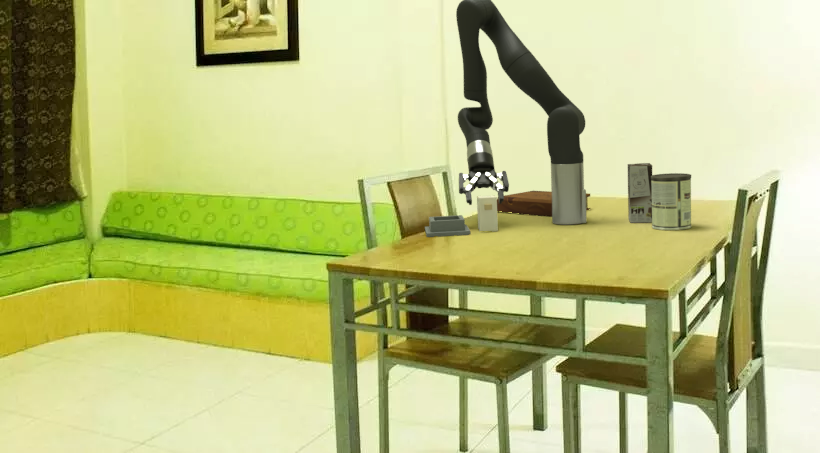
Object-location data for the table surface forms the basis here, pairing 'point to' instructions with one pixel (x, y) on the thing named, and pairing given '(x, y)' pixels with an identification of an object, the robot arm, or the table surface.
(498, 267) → the table surface
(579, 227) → the table surface
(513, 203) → the diary
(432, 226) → the grey stepped pedestal
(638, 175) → the coffee box
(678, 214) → the coffee can
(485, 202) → the cream block
